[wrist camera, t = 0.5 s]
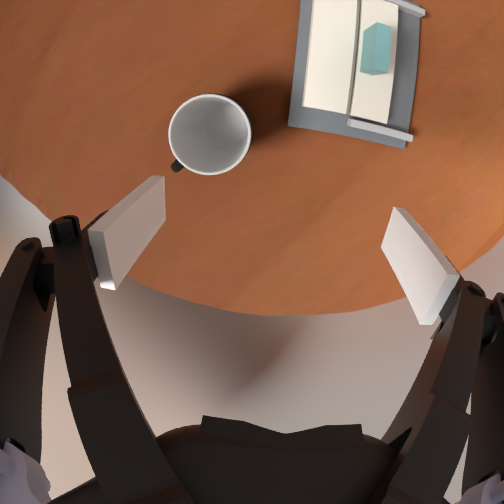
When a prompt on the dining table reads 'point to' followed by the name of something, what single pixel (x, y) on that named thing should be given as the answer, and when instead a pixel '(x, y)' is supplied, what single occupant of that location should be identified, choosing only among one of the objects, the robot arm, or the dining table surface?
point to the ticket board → (397, 88)
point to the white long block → (374, 60)
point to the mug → (210, 134)
